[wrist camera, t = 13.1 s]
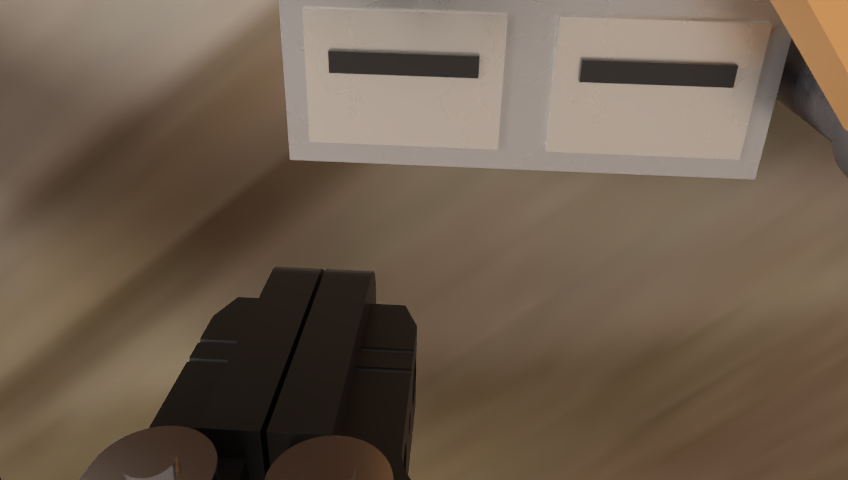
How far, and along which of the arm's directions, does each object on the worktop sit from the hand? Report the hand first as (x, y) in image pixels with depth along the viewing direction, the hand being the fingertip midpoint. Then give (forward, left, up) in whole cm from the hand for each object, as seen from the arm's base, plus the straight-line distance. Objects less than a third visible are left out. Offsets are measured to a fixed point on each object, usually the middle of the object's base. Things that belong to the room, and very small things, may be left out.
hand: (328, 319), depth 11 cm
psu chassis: (+6, 0, -24) cm, 25 cm away
